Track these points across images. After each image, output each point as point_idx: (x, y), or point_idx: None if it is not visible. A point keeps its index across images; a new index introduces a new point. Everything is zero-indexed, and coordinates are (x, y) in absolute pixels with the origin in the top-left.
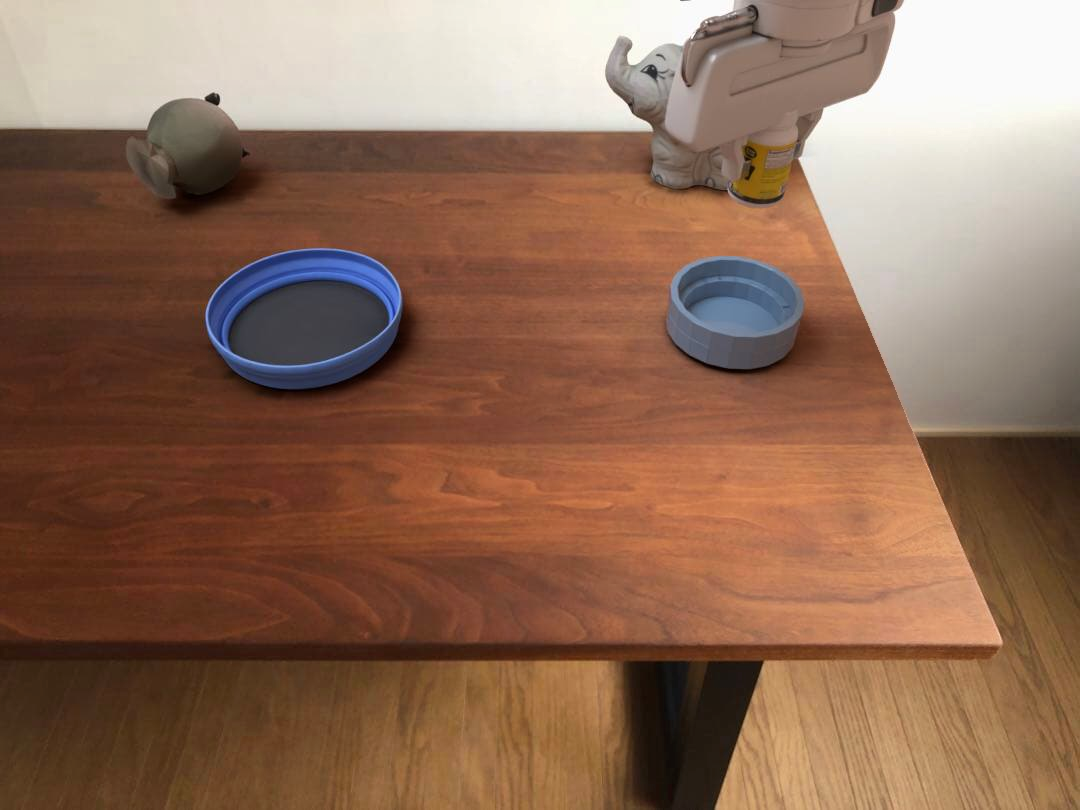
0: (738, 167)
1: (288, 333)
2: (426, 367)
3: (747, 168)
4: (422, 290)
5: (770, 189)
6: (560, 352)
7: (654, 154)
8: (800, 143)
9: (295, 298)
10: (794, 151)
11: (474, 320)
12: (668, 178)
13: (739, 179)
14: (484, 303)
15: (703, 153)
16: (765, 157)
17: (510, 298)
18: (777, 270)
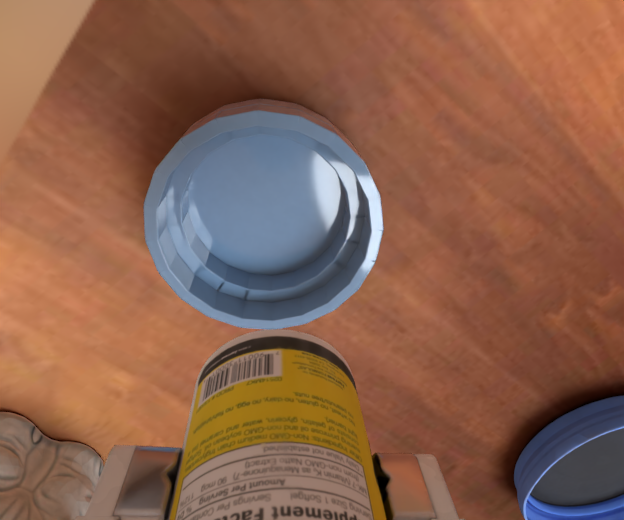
0: (453, 505)
1: (621, 461)
2: (581, 367)
3: (402, 486)
4: (480, 449)
5: (319, 379)
6: (470, 307)
7: None
8: (120, 506)
9: (571, 491)
10: (155, 479)
11: (486, 394)
12: (92, 465)
13: (419, 456)
14: (455, 407)
15: (28, 487)
16: (373, 512)
17: (428, 400)
18: (150, 235)
